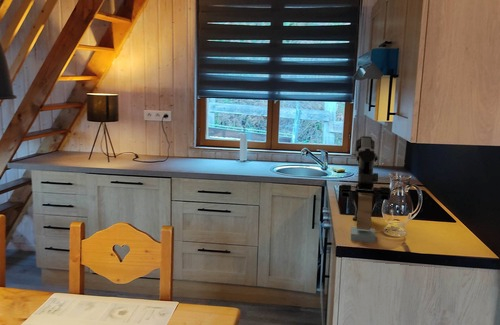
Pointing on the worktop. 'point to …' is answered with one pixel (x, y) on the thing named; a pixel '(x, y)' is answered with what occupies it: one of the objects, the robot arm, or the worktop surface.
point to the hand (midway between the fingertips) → (364, 211)
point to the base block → (363, 235)
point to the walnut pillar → (364, 211)
